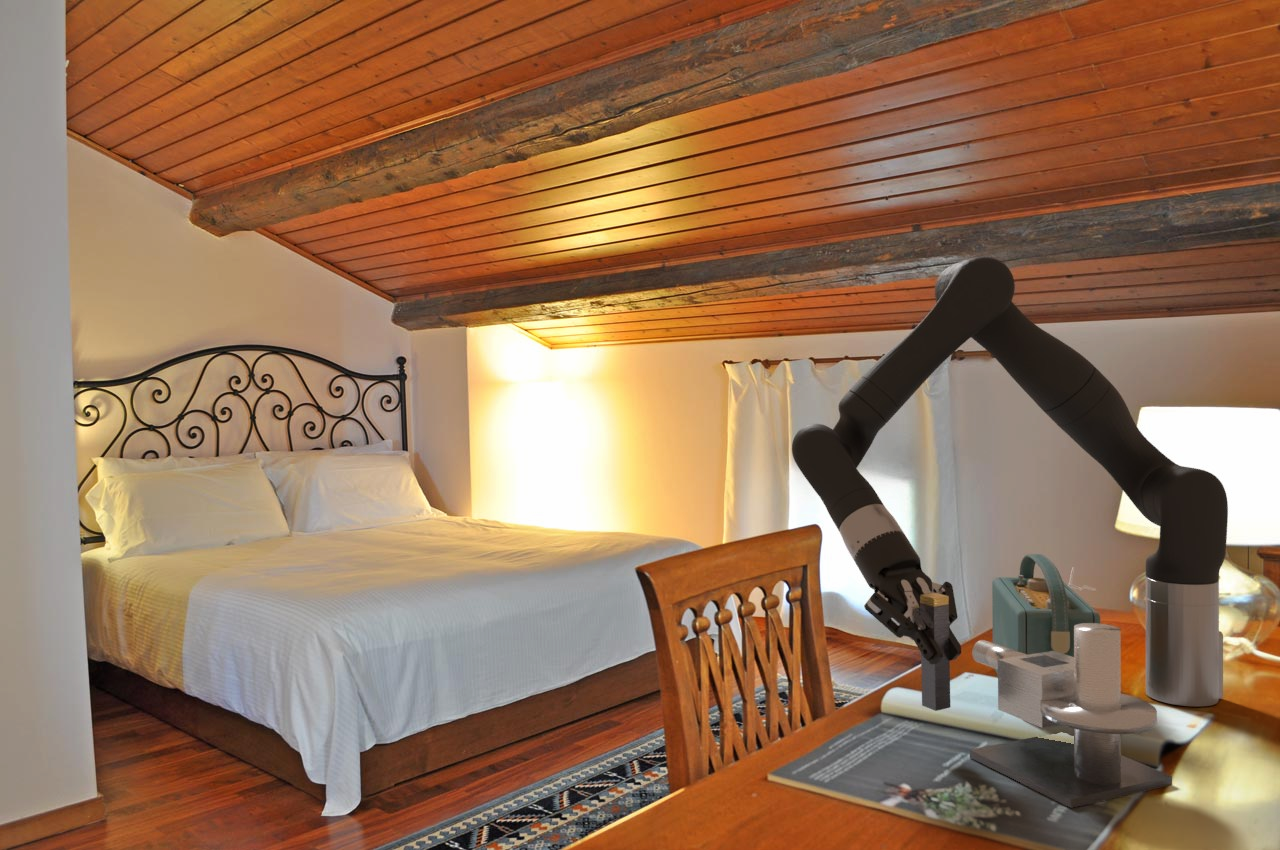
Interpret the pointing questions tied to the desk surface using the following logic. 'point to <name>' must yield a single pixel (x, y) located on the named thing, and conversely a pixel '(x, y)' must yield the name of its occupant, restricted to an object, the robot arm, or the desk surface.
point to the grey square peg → (938, 675)
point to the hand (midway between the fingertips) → (946, 658)
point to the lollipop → (1077, 586)
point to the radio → (1037, 610)
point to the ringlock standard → (1070, 719)
